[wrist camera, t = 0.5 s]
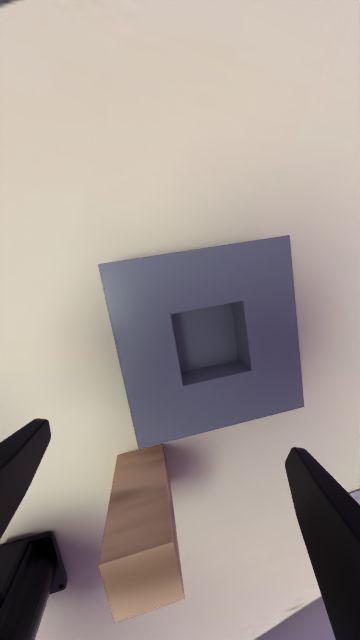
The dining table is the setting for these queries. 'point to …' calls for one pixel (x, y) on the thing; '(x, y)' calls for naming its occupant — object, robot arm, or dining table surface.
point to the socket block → (205, 337)
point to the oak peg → (140, 537)
